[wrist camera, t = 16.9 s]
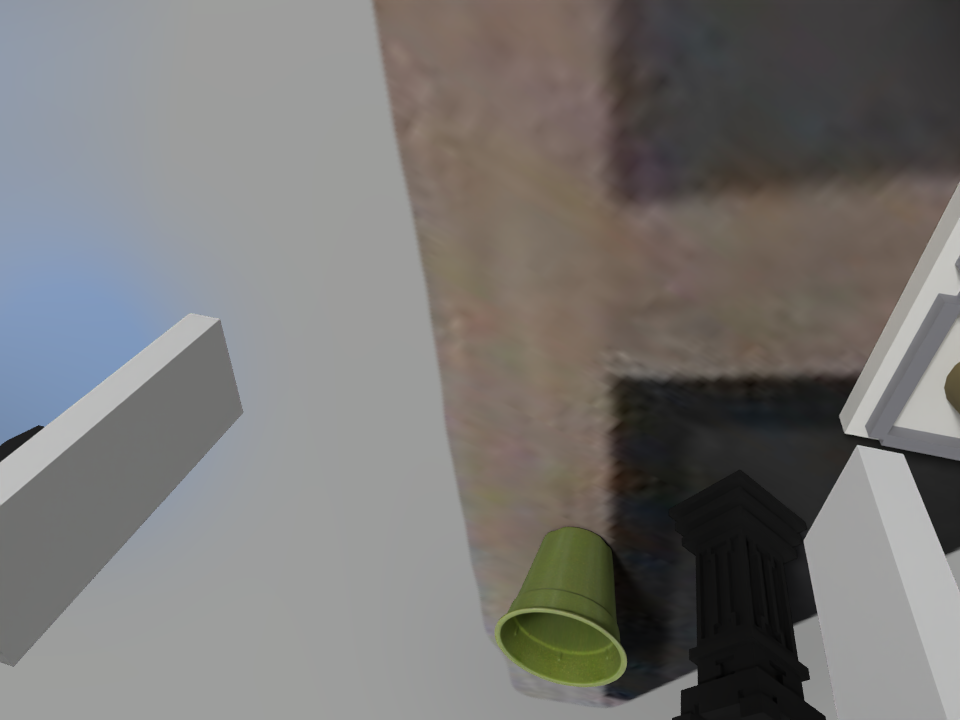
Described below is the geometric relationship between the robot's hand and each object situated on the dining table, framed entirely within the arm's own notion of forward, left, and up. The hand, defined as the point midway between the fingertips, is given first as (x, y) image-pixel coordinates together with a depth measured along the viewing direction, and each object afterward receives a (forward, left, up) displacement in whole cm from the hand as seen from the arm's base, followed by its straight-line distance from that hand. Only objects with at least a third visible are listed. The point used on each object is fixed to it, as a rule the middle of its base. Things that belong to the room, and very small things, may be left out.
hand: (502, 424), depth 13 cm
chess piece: (+34, +16, -32) cm, 49 cm away
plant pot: (+44, +3, -32) cm, 54 cm away
